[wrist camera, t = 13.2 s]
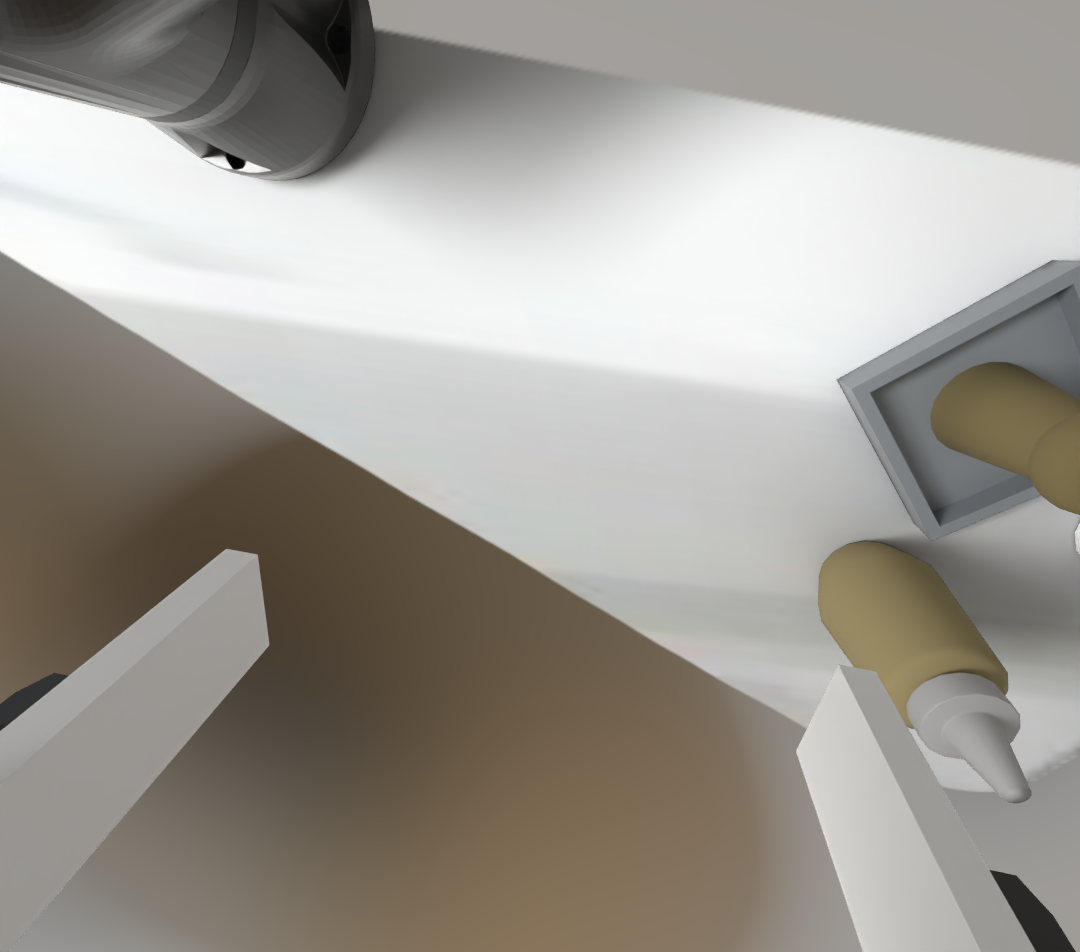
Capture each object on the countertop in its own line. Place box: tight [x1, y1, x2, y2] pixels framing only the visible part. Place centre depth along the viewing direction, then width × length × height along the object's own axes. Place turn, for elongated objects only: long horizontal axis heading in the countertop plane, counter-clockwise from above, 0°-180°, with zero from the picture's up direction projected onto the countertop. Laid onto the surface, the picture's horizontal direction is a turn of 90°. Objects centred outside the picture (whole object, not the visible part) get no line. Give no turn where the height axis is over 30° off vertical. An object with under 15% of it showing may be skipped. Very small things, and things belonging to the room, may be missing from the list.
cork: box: [930, 362, 1080, 515], centre depth 29 cm, size 6×6×11 cm
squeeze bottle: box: [818, 541, 1031, 803], centre depth 33 cm, size 8×8×18 cm
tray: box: [837, 260, 1080, 541], centre depth 34 cm, size 13×13×2 cm
